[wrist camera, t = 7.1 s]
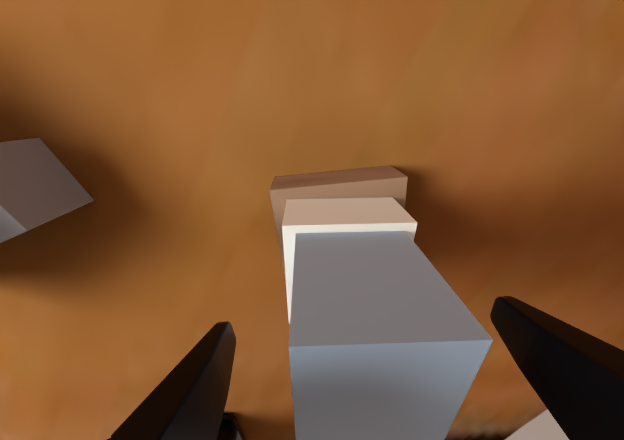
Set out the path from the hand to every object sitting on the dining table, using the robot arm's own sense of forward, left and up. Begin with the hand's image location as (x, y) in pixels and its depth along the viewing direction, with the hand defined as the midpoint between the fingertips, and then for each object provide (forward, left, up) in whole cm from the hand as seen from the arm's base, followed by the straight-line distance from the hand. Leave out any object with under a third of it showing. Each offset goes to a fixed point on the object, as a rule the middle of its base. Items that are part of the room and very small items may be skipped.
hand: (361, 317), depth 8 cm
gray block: (0, 0, -3) cm, 3 cm away
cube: (+4, +17, -8) cm, 20 cm away
